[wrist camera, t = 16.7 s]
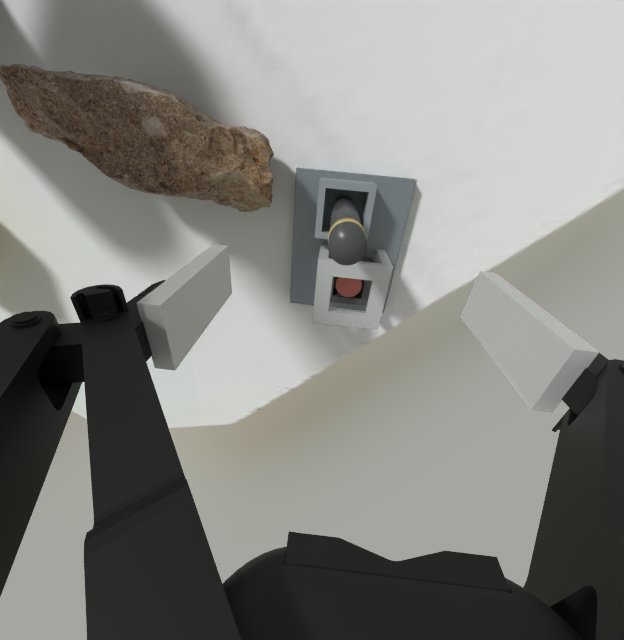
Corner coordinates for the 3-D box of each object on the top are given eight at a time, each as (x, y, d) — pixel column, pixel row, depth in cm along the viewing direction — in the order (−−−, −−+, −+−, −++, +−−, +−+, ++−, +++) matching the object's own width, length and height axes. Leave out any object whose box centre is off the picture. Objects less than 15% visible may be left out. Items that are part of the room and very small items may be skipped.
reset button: (337, 263, 41) (337, 271, 38) (362, 266, 40) (364, 274, 38) (334, 286, 42) (334, 295, 40) (358, 288, 42) (359, 298, 39)
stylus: (333, 194, 36) (329, 223, 21) (356, 196, 36) (371, 228, 20) (330, 219, 38) (325, 263, 22) (353, 221, 37) (364, 267, 22)
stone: (120, 170, 38) (9, 177, 25) (109, 77, 33) (-38, 28, 20) (281, 210, 39) (253, 238, 26) (294, 127, 34) (268, 111, 21)
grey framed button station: (297, 167, 36) (287, 171, 29) (413, 179, 36) (433, 185, 28) (291, 298, 46) (283, 325, 39) (382, 308, 45) (390, 337, 38)
